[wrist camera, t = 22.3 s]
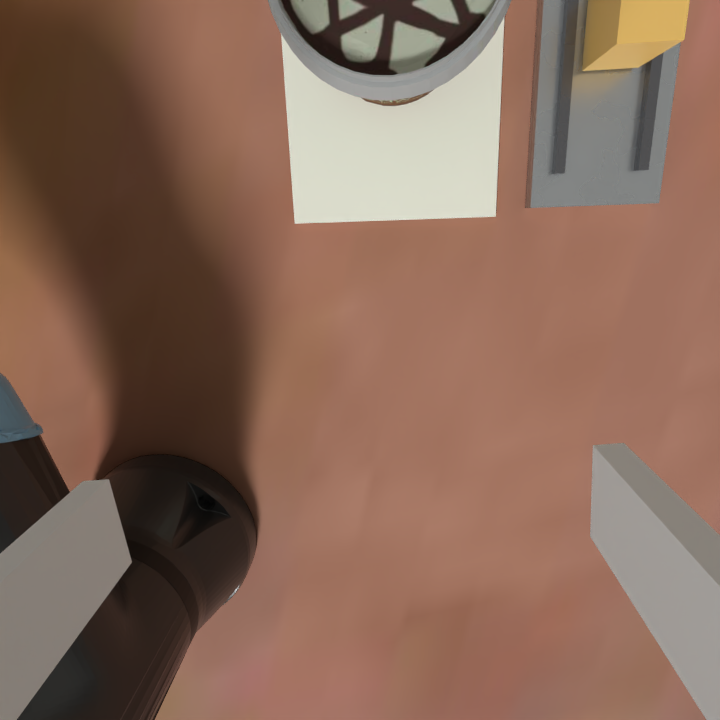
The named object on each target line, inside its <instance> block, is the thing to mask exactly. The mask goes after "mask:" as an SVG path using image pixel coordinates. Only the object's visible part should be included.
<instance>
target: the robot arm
mask: <svg viewBox="0 0 720 720" xmlns="http://www.w3.org/2000/svg"><path fill="white" fill-rule="evenodd" d="M42 433H43V430H42V427H41V426H40V425H39V424H37V423H34V421H33V420H32V418H31V416H30V415H29V413H28V411H27V410H26V408H25V407H24V405H23V403H22V402H21V400H20V398H19V397H18V395H17V393H16V392H15V390H14V388H13V387H12V385H11V384H10V382H9V381H8V380H7V378H6V377H5V376H4V375H3V374H1V373H0V720H155V718H156V715H157V713H158V711H159V709H160V707H161V705H162V703H163V701H164V698H165V696H166V694H167V692H168V690H169V688H170V686H171V684H172V681H173V679H174V677H175V675H176V673H177V671H178V669H179V666H180V664H181V662H182V660H183V658H184V656H185V654H186V652H187V649H188V647H189V645H190V643H191V641H192V639H193V637H194V635H195V633H196V632H197V631H198V630H199V629H200V628H201V627H202V626H203V625H204V624H205V623H206V622H207V621H208V620H209V619H210V618H211V617H212V615H213V614H214V613H215V612H216V611H217V610H218V609H219V608H220V607H221V606H222V605H224V604H225V603H226V602H227V601H228V600H229V599H230V598H232V597H233V595H234V594H235V593H236V592H237V591H238V589H239V588H240V586H241V585H242V583H243V581H244V579H245V577H246V575H247V573H248V570H249V568H250V566H251V563H252V561H253V558H254V555H255V550H256V530H255V525H254V521H253V518H252V515H251V513H250V510H249V508H248V506H247V505H246V503H245V501H244V500H243V498H242V497H241V495H240V494H239V493H238V492H237V490H236V489H235V488H234V487H233V486H232V485H231V484H230V483H229V482H228V481H227V480H226V479H224V478H223V477H222V476H221V475H219V474H218V473H216V472H215V471H213V470H212V469H210V468H208V467H206V466H204V465H202V464H200V463H198V462H195V461H193V460H190V459H186V458H182V457H178V456H172V455H147V456H142V457H138V458H134V459H131V460H129V461H127V462H124V463H123V464H121V465H119V466H118V467H116V468H115V469H113V470H112V471H111V472H110V473H109V474H108V475H106V476H105V477H104V478H103V479H102V480H92V481H83V482H81V483H80V484H79V485H78V486H77V487H76V488H75V489H73V490H72V491H71V492H70V491H69V490H68V488H67V486H66V484H65V482H64V480H63V478H62V476H61V474H60V472H59V470H58V469H57V467H56V465H55V463H54V461H53V459H52V457H51V455H50V453H49V451H48V449H47V447H46V445H45V443H44V441H43V439H42V437H41V435H40V434H42ZM590 537H591V538H592V540H593V542H594V543H595V545H596V546H597V548H598V549H599V551H600V553H601V554H602V556H603V557H604V559H605V560H606V562H607V564H608V565H609V567H610V568H611V570H612V572H613V573H614V575H615V576H616V578H617V579H618V581H619V583H620V584H621V586H622V587H623V589H624V590H625V592H626V594H627V595H628V597H629V598H630V600H631V601H632V603H633V605H634V606H635V608H636V609H637V611H638V613H639V614H640V616H641V617H642V619H643V620H644V622H645V624H646V625H647V627H648V628H649V630H650V631H651V633H652V635H653V636H654V638H655V639H656V641H657V642H658V644H659V646H660V647H661V649H662V650H663V652H664V654H665V655H666V657H667V658H668V660H669V661H670V663H671V665H672V666H673V668H674V669H675V671H676V672H677V674H678V676H679V677H680V679H681V680H682V682H683V683H684V685H685V687H686V688H687V690H688V691H689V693H690V695H691V696H692V698H693V699H694V701H695V702H696V704H697V706H698V707H699V709H700V710H701V712H702V713H703V715H704V717H705V718H706V720H720V535H719V534H718V533H717V532H716V531H715V530H714V529H713V528H712V527H711V526H709V525H708V524H707V523H706V522H705V521H704V520H703V519H702V518H701V517H700V516H699V515H698V514H697V513H696V512H695V511H694V510H693V509H692V508H691V507H690V506H689V505H688V504H687V503H686V502H685V501H683V500H682V499H681V498H680V497H679V496H678V495H677V494H676V493H675V492H674V491H673V490H672V489H671V488H670V487H669V486H668V485H667V484H666V483H665V482H664V481H663V480H662V479H661V478H660V477H658V476H657V475H656V474H655V473H654V472H653V471H652V470H651V469H650V468H649V467H648V466H647V465H646V464H645V463H644V462H643V461H642V460H641V459H640V458H639V457H638V456H637V455H636V454H635V453H634V452H632V451H631V450H630V449H629V448H628V447H627V446H626V445H625V444H624V443H618V444H604V445H593V462H592V496H591V530H590Z"/></svg>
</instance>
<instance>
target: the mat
mask: <svg viewBox="0 0 720 720" xmlns="http://www.w3.org/2000/svg"><path fill="white" fill-rule="evenodd" d="M281 37H282V51H283V65H284V79H285V93H286V107H287V121H288V135H289V149H290V163H291V177H292V191H293V205H294V219H295V224H297V223H325V222H354V221H382V220H411V219H439V218H468V217H496V198H497V175H498V152H499V129H500V106H501V83H502V61H503V38H504V18H503V20H502V22H501V24H500V26H499V28H498V29H497V31H496V33H495V35H494V36H493V37H492V39H491V40H490V42H489V43H488V44H487V46H486V47H485V48H484V50H483V51H482V52H481V54H480V55H479V56H478V57H477V58H476V59H475V60H474V61H473V62H472V63H471V64H470V65H469V66H468V67H467V68H466V69H464V70H463V71H462V72H461V73H459V74H458V75H457V76H455V77H454V78H453V79H451V80H450V81H449V82H447V83H445V84H443V85H441V86H439V87H437V88H435V89H434V90H433V91H432V92H430V93H429V94H428V95H426V96H424V97H422V98H421V99H419V100H417V101H414V102H411V103H408V104H405V105H399V106H382V105H378V104H374V103H370V102H366V101H365V100H363V99H362V98H360V97H355V96H353V95H350V94H347V93H345V92H342V91H340V90H337V89H336V88H334V87H332V86H331V85H329V84H327V83H326V82H324V81H322V80H321V79H319V78H318V77H317V76H316V75H315V74H314V73H312V72H311V71H310V70H309V69H308V68H307V67H305V66H304V64H303V63H302V62H301V61H300V60H299V59H298V57H297V56H296V55H295V54H294V53H293V52H292V50H291V49H290V47H289V45H288V44H287V42H286V41H285V39H284V37H283V36H282V34H281Z"/></svg>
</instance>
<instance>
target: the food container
mask: <svg viewBox="0 0 720 720" xmlns="http://www.w3.org/2000/svg"><path fill="white" fill-rule="evenodd" d="M268 2H269V6H270V9H271V12H272V15H273V17H274V19H275V21H276V24H277V26H278V28H279V30H280V33H281V34H282V36H283V37H284V39H285V41H286V42H287V44H288V45H289V47H290V49H291V50H292V52H293V53H294V54H295V55H296V56H297V57H298V59H299V60H300V61H301V62H302V63H303V64H304V66H305V67H307V68H308V69H309V70H310V71H311V72H312V73H314V74H315V75H316V76H317V77H318V78H319V79H321V80H322V81H324V82H326V83H327V84H329V85H331V86H332V87H334V88H336V89H337V90H340V91H342V92H345V93H347V94H350V95H353V96H355V97H360V98H362V99H363V100H365V101H366V102H370V103H374V104H378V105H382V106H399V105H405V104H408V103H411V102H414V101H417V100H419V99H421V98H422V97H424V96H426V95H428V94H429V93H430V92H432V91H433V90H434V89H435V88H437V87H439V86H441V85H443V84H445V83H447V82H449V81H450V80H451V79H453V78H454V77H455V76H457V75H458V74H459V73H461V72H462V71H463V70H464V69H466V68H467V67H468V66H469V65H470V64H471V63H472V62H473V61H474V60H475V59H476V58H477V57H478V56H479V55H480V54H481V52H482V51H483V50H484V48H485V47H486V46H487V44H488V43H489V42H490V40H491V39H492V37H493V36H494V35H495V33H496V31H497V29H498V28H499V26H500V24H501V22H502V20H503V18H504V17H505V15H506V13H507V10H508V7H509V5H510V2H511V0H268Z"/></svg>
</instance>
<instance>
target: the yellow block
mask: <svg viewBox="0 0 720 720" xmlns="http://www.w3.org/2000/svg"><path fill="white" fill-rule="evenodd" d="M689 2H690V0H588V6H587V18H586V30H585V41H584V53H583V65H582V71H591V70H608V69H624V68H638V67H640V66H642V65H643V64H645V63H647V62H648V61H650V60H652V59H653V58H655V57H657V56H658V55H660V54H662V53H663V52H665V51H666V50H668V49H670V48H671V47H673V46H675V45H676V44H678V43H680V42H681V41H683V40H684V38H685V31H686V24H687V16H688V9H689Z"/></svg>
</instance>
